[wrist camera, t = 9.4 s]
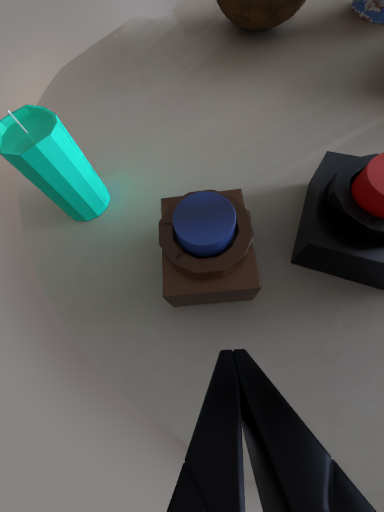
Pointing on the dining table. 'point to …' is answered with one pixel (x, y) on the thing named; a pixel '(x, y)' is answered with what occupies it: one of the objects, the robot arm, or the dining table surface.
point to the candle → (52, 161)
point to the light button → (371, 187)
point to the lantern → (369, 10)
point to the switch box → (340, 225)
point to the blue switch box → (209, 261)
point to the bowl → (259, 12)
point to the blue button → (204, 223)
